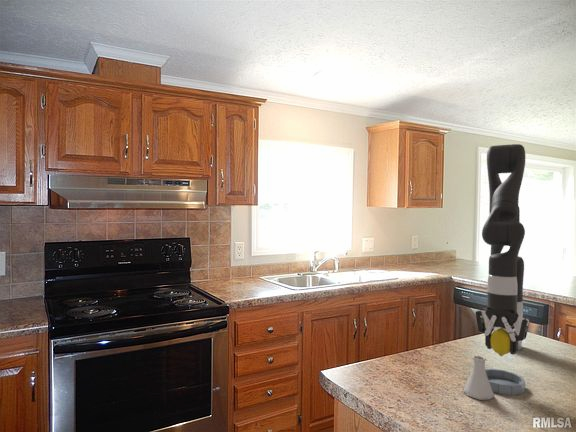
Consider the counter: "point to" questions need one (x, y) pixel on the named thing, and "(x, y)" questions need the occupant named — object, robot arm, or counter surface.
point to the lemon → (500, 341)
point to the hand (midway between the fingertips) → (501, 350)
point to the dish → (505, 382)
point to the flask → (478, 381)
